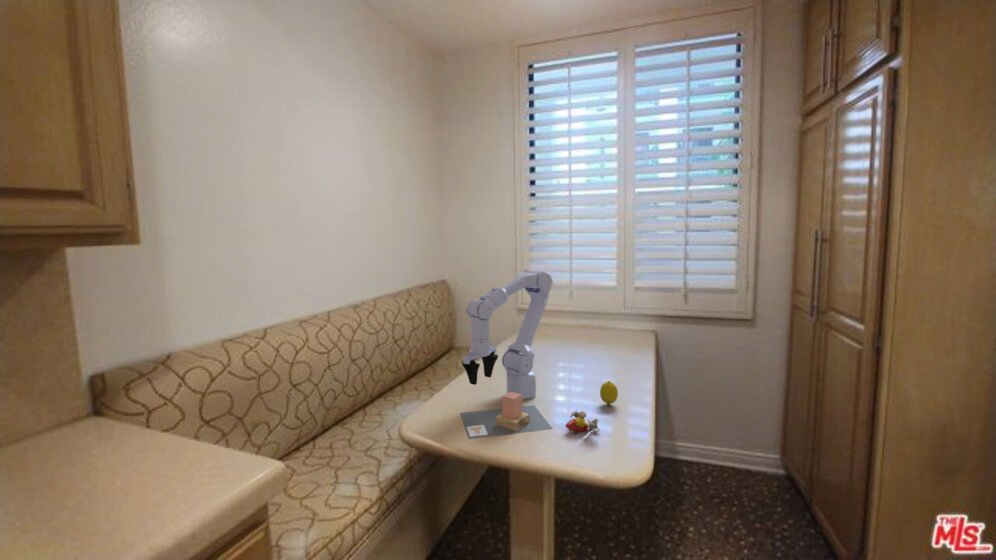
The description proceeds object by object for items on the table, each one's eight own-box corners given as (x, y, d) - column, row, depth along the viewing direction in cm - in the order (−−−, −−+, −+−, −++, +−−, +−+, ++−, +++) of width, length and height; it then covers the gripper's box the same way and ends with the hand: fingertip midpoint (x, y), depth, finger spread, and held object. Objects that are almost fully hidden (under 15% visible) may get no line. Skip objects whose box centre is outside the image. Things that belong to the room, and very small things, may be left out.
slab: (510, 416, 132) (510, 408, 132) (529, 422, 128) (529, 414, 128) (496, 424, 127) (496, 416, 126) (516, 431, 123) (516, 422, 122)
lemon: (618, 402, 144) (618, 379, 143) (616, 409, 138) (617, 384, 138) (600, 400, 145) (601, 377, 145) (598, 407, 140) (599, 383, 139)
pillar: (510, 411, 130) (510, 391, 129) (521, 414, 128) (521, 394, 127) (502, 415, 127) (502, 395, 126) (514, 419, 124) (514, 399, 124)
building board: (534, 407, 140) (534, 404, 140) (552, 431, 124) (552, 428, 124) (459, 415, 135) (459, 412, 135) (468, 441, 119) (468, 438, 118)
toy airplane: (564, 436, 121) (564, 414, 120) (572, 423, 129) (572, 402, 129) (597, 442, 118) (598, 420, 117) (603, 428, 126) (604, 407, 125)
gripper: (483, 331, 144) (484, 371, 145) (454, 341, 132) (455, 384, 134) (501, 334, 140) (501, 375, 141) (473, 344, 128) (473, 389, 130)
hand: (480, 380), depth 137 cm, fingers open, 7 cm apart
